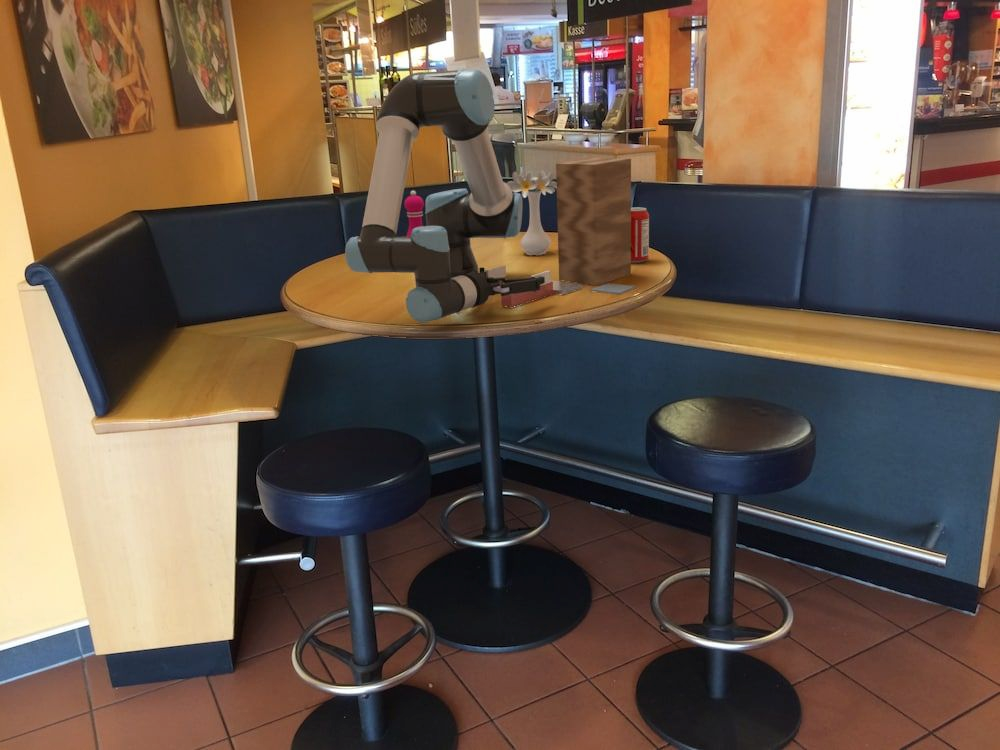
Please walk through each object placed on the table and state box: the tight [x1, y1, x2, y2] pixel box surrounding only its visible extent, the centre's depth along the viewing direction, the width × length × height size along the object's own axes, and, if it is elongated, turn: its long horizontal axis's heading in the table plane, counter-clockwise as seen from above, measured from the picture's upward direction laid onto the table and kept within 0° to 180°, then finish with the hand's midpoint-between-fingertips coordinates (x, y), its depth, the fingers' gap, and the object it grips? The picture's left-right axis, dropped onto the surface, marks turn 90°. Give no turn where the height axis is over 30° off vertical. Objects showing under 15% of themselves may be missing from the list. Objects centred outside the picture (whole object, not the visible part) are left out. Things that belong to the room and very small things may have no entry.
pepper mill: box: [404, 190, 425, 237], centre depth 261 cm, size 7×7×20 cm
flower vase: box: [505, 170, 557, 256], centre depth 252 cm, size 13×18×25 cm
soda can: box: [631, 206, 650, 264], centre depth 235 cm, size 8×8×15 cm
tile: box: [590, 282, 636, 296], centre depth 206 cm, size 8×8×1 cm
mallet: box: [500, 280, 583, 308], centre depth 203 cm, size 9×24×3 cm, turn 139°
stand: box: [555, 157, 632, 286], centre depth 216 cm, size 12×16×30 cm
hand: (526, 273), depth 198 cm, fingers open, 13 cm apart
